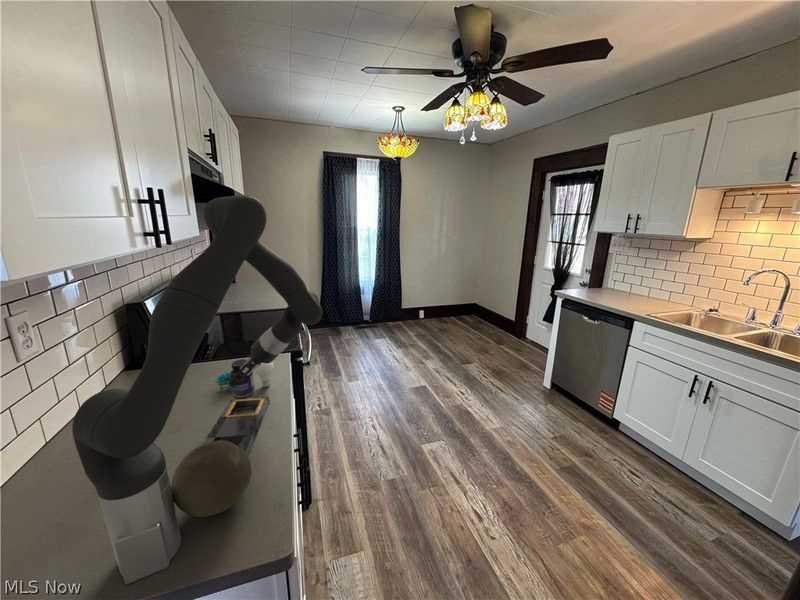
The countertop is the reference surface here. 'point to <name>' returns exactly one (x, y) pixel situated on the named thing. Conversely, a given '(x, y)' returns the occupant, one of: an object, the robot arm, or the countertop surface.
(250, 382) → the pill bottle
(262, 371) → the lightbulb
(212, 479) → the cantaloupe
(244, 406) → the grey rectangular tray
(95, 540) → the countertop surface
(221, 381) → the blue branched piece
